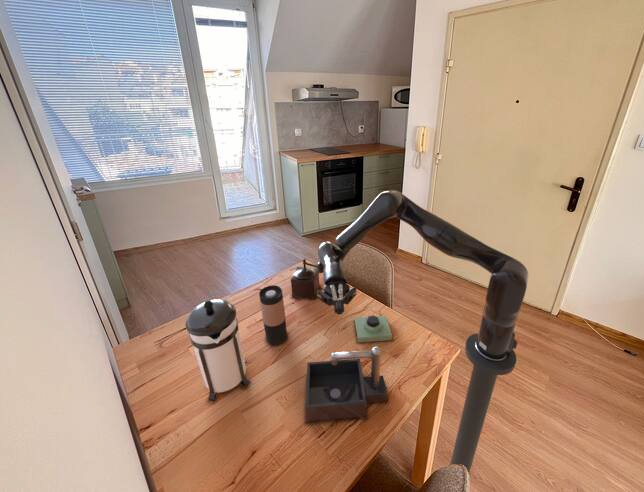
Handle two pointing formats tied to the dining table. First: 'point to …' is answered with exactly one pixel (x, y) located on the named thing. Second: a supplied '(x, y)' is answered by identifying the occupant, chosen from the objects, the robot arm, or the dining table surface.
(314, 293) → the manual coffee grinder
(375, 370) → the faucet
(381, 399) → the sink
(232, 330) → the coffee press
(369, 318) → the button
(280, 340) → the travel mug
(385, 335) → the switch block
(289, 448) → the dining table surface
